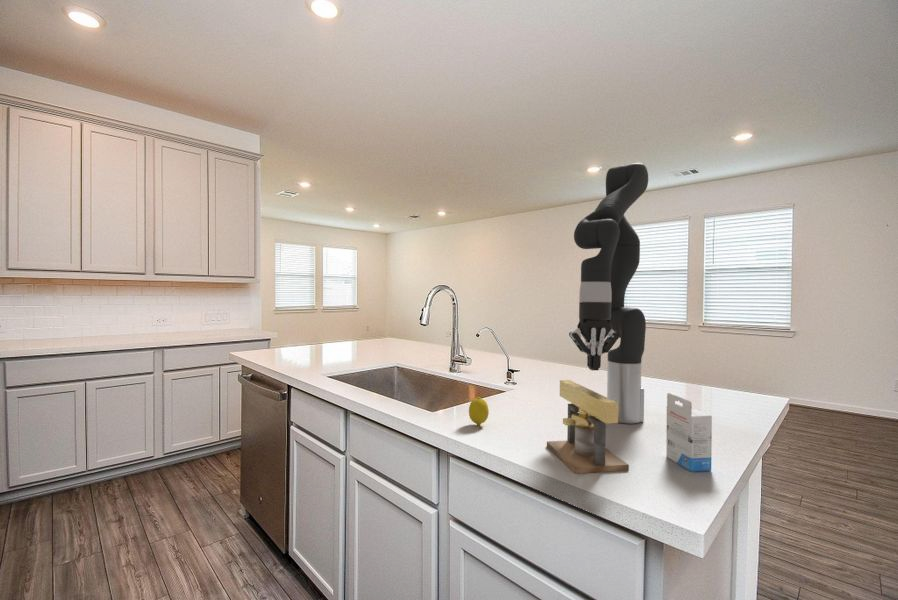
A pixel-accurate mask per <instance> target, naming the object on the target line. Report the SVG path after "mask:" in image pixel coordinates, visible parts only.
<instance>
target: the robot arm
mask: <svg viewBox="0 0 898 600" xmlns="http://www.w3.org/2000/svg"><path fill="white" fill-rule="evenodd" d="M648 183H649V171H648V168H647V166H646V165H645V164H644V163H642V162H634V163H633V162H632V163H629V164H622V165H618V166H613V167H610V168H609V169H608V170H607V172H606V175H605V197H604V198H603V199H602V200H601V201H600V202H599V204H598V205H597V206H596V208H595V209H594V211H592V212H591V213H589V214H587V215H586V216H585V217H584V218H582V219H581V220H580V221H579V222H578V223H577V225H576V227H575V229H574V232H573V241H574V243H575V244H576V246H577V247H578V248H579V249H582V250H591V249H592V250H593V249H600V250H599V252H598V253H597V255H595V256H592V257H589V258H585V259H583V260H582V261H581V265H580V287H579V297H578V298H579V299H578V300H579V301H578V303H579V304H578V305H579V306H578V318H579V320H578V324H577V327H576V328H575V329H574V330H573V331H570V332H568V336H569V337H570V339H571V340H572V342H573V343H574V345H576V347H577V348H578V350H579V351H580V352H582V353H584V354H586V355H587V357H586V358H587V361H586V364H587V368H588V369H589V370H590V371H599V370H600V369H601V362H602V361H601V360H602V357H601V356H602V355H603V354H605V353H606V354H607V367H606V368H607V370H606V371H607V373H606V374H607V375H606V376H607V381H606V382H607V383H606V384H607V385H606V386H607V387H606V391H607V392H606V393H607V394H606V397H607V398H609V399H611V400H613V401H615V402H617V403H618V423H621V424H630V425H631V424H632V425H633V424H639V423H641V422H644V421H645V389H644V388H643V387H642V360H643V358H642V357H643V355H644V352H645V341H646V332H647V331H646V330H647V324H646V323H647V321H646V318H645V313H644V312H643V311H642V310H641V309H640V308H637V307H625V299H626V298H625V297H626V291H627V288H628V286H629V284H630V282H631V281H632V279H633V277H634V275H635V273H636V272H637V269H638V268H639V265H640V259H641V253H640V252H641V242H640V241H641V240H640V237H639V235H638V234H637V231H635V229H634V227H632V225H631V224H630V222H629V220H627V218H626V216H625V213H626V212H627V210H629V208H630V207H632V205H633V204H634V203H635V202H636V201H638V199H639V198H640V197H641V196H643V194H644V193H645V192H646V190H647V188H648V185H649V184H648ZM582 337H583V339H584V341H583V340H582ZM619 339H620V342H619V345H618V346H617V347H616V348H614V349H612V347H614V345H615V344H616V342H617V341H618V340H619Z"/></svg>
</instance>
